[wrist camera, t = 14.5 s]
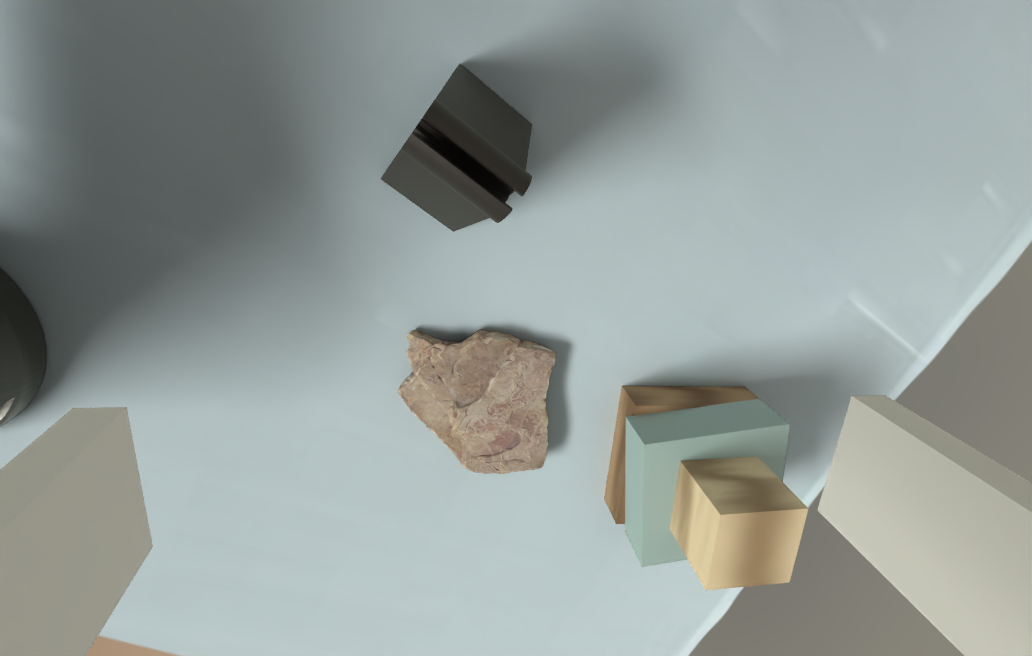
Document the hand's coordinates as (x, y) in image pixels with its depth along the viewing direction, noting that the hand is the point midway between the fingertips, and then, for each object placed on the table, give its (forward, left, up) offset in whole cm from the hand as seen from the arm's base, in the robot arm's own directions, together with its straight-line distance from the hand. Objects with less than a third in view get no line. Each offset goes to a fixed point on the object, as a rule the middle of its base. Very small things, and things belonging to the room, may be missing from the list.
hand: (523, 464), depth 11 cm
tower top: (+20, -20, -28) cm, 39 cm away
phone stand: (0, +4, -32) cm, 32 cm away
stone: (+3, -14, -32) cm, 35 cm away
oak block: (+19, -19, -24) cm, 36 cm away
